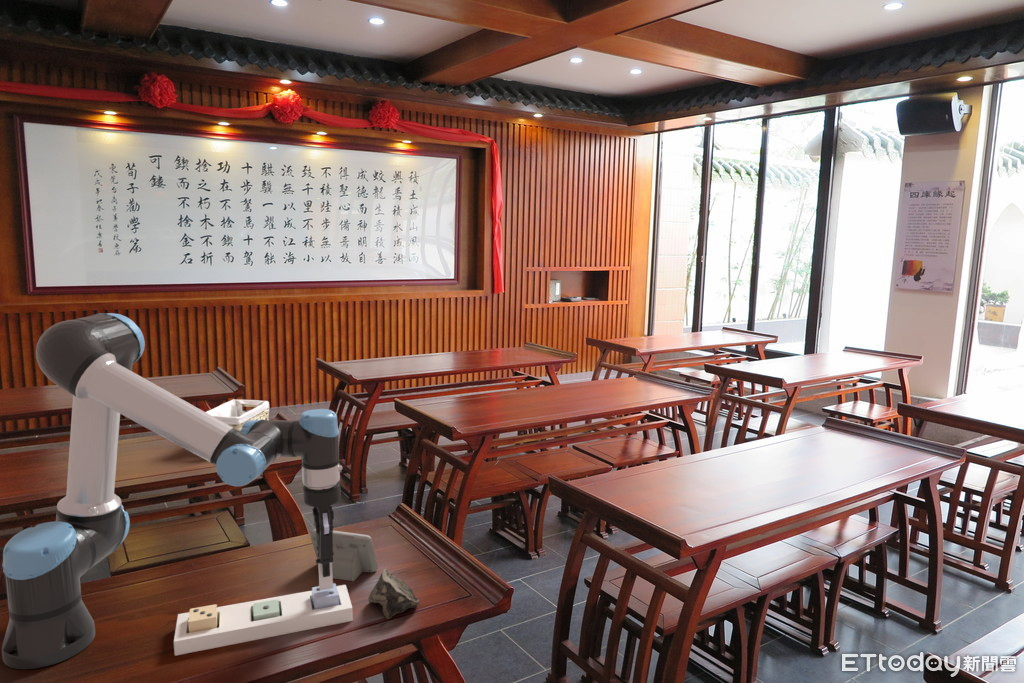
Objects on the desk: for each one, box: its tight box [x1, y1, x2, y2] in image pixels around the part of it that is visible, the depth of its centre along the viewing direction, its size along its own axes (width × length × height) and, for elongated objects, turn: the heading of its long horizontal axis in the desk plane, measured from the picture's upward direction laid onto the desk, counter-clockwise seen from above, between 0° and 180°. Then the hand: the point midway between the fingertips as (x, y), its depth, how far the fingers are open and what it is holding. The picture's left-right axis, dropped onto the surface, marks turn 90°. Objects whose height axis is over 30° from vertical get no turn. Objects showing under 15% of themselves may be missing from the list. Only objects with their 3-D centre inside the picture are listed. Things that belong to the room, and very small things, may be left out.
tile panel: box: [173, 584, 354, 656], centre depth 141 cm, size 34×10×3 cm, turn 112°
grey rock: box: [368, 568, 420, 620], centre depth 147 cm, size 11×9×10 cm
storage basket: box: [205, 398, 270, 431], centre depth 255 cm, size 24×16×15 cm
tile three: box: [188, 603, 218, 633], centre depth 136 cm, size 5×5×4 cm
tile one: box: [253, 599, 281, 621], centre depth 140 cm, size 5×5×4 cm
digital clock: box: [309, 528, 379, 582], centre depth 162 cm, size 16×9×11 cm, turn 65°
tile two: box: [311, 582, 339, 610], centre depth 145 cm, size 5×5×4 cm
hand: (326, 587), depth 144 cm, fingers closed
